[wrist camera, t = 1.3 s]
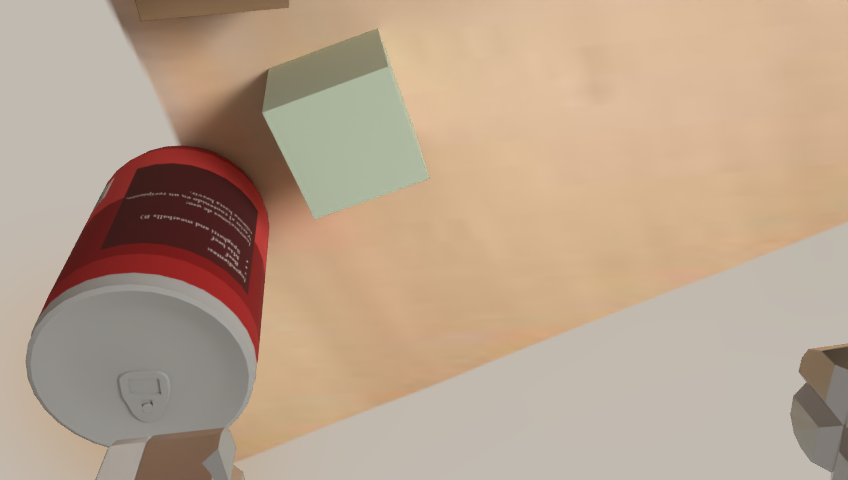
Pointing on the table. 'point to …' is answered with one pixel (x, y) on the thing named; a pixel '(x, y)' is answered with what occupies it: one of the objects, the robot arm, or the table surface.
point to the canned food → (157, 303)
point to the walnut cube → (201, 7)
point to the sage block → (343, 124)
